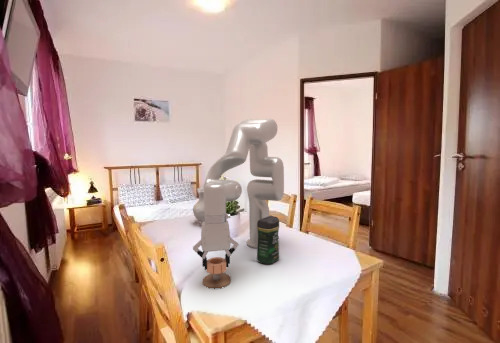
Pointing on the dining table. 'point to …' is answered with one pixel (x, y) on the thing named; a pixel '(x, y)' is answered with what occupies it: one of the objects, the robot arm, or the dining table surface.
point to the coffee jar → (268, 240)
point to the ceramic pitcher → (200, 205)
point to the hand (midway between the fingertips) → (216, 266)
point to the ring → (216, 265)
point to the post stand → (216, 280)
